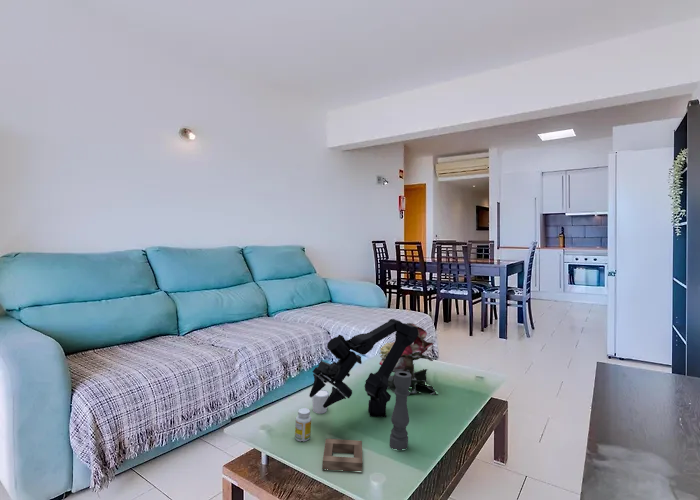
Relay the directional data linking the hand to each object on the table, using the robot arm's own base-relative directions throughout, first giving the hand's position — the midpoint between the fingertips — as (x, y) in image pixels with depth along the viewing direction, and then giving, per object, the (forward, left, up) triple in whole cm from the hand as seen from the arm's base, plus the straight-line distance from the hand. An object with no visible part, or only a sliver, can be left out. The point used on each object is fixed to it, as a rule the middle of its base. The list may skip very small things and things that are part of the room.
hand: (316, 401), depth 135 cm
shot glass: (0, -17, -12) cm, 21 cm away
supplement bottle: (+4, +3, -12) cm, 13 cm away
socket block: (-10, +14, -12) cm, 21 cm away
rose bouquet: (-37, -47, -12) cm, 61 cm away
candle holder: (-29, +5, -12) cm, 32 cm away
